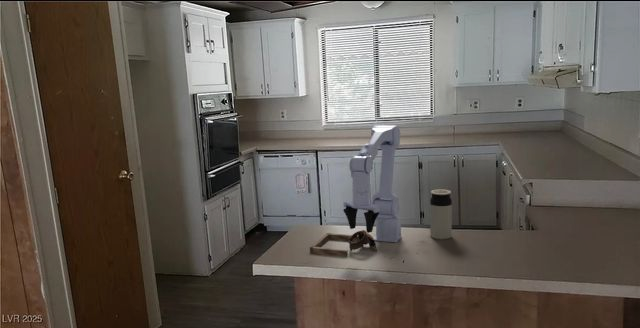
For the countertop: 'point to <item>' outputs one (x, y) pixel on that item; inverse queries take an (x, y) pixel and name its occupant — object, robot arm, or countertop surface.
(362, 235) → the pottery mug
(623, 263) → the countertop surface
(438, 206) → the travel mug
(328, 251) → the bar
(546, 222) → the countertop surface
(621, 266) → the countertop surface
